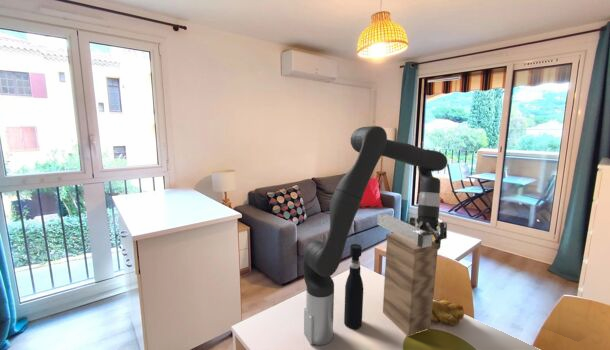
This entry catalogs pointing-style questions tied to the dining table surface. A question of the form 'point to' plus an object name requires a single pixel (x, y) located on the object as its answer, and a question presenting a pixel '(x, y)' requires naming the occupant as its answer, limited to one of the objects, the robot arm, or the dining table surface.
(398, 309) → the walnut stand
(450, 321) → the bread roll
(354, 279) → the wine bottle
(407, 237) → the aluminium bar
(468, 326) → the dining table surface
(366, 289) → the dining table surface
